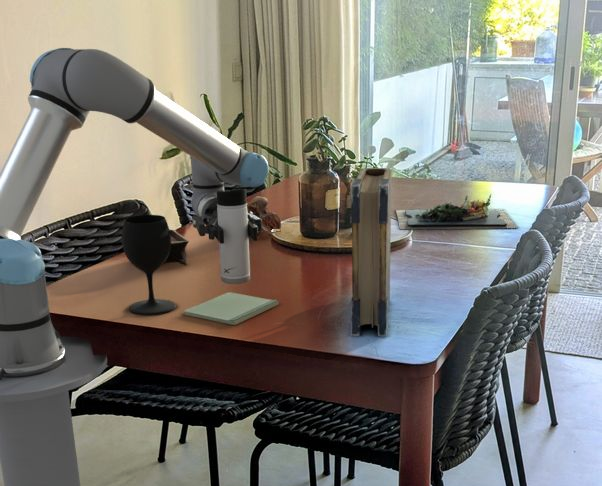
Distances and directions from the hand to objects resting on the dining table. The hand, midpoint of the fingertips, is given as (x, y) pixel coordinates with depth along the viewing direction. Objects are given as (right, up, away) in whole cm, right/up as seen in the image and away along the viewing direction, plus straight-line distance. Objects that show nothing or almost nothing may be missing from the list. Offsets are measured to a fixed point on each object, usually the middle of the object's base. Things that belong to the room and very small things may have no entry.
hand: (238, 235), depth 177 cm
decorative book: (+28, -17, +5) cm, 33 cm away
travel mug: (-1, -9, +9) cm, 12 cm away
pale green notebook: (-2, -15, +12) cm, 19 cm away
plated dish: (+60, +17, +91) cm, 111 cm away
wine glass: (-20, -14, +14) cm, 29 cm away
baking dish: (-24, -1, +50) cm, 56 cm away
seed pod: (0, +11, +78) cm, 78 cm away
